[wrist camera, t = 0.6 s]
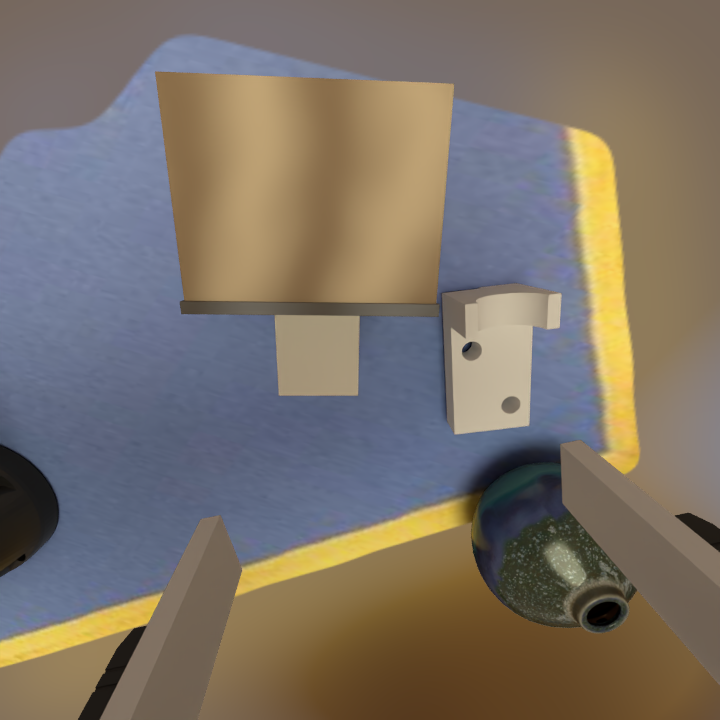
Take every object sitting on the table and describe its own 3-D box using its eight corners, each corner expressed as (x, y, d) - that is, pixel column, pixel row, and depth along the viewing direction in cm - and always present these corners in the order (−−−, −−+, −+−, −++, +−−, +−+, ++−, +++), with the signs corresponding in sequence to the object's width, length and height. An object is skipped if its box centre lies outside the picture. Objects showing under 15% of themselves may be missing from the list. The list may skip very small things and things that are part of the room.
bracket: (439, 291, 34) (465, 304, 26) (515, 282, 34) (561, 293, 26) (444, 417, 38) (468, 458, 30) (512, 409, 38) (552, 448, 30)
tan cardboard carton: (299, 345, 34) (278, 395, 23) (296, 233, 31) (269, 227, 20) (353, 345, 35) (358, 395, 23) (355, 234, 31) (361, 229, 20)
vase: (585, 546, 43) (685, 670, 31) (458, 561, 43) (505, 693, 30) (597, 432, 39) (721, 524, 26) (454, 449, 38) (508, 550, 26)
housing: (255, 282, 32) (181, 314, 18) (247, 157, 29) (148, 67, 15) (395, 284, 33) (438, 316, 18) (401, 161, 30) (458, 81, 15)
